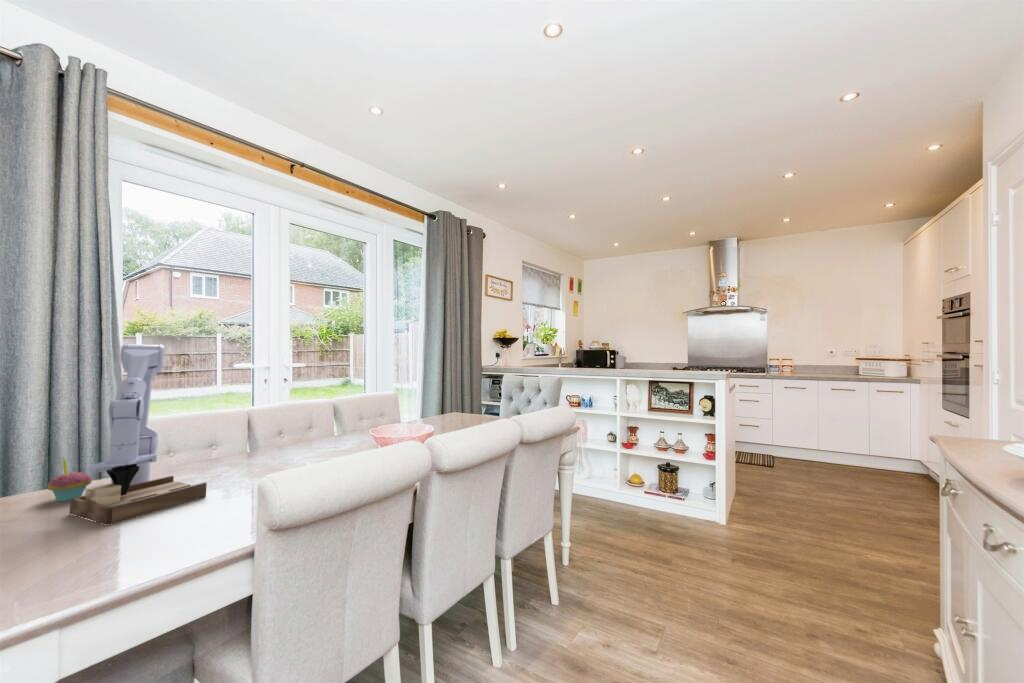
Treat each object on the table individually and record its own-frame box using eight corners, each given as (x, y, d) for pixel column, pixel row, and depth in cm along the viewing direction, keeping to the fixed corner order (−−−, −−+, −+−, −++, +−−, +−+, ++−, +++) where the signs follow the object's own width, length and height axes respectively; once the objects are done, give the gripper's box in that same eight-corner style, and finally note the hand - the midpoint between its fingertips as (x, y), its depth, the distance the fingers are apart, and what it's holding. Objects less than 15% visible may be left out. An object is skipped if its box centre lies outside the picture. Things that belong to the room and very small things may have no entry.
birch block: (84, 504, 107) (85, 488, 107) (109, 498, 112) (109, 483, 112) (95, 507, 105) (96, 491, 105) (120, 501, 110) (121, 485, 110)
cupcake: (67, 504, 113) (69, 459, 113) (36, 503, 113) (39, 458, 113) (99, 494, 121) (101, 452, 122) (70, 493, 122) (73, 451, 122)
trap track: (69, 514, 106) (70, 498, 106) (170, 488, 128) (171, 475, 128) (106, 525, 101) (107, 508, 101) (205, 496, 122) (206, 482, 122)
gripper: (98, 450, 104) (95, 505, 104) (164, 440, 118) (161, 488, 118) (82, 447, 107) (79, 501, 106) (148, 437, 121) (146, 485, 120)
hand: (121, 494), depth 112 cm, fingers closed
